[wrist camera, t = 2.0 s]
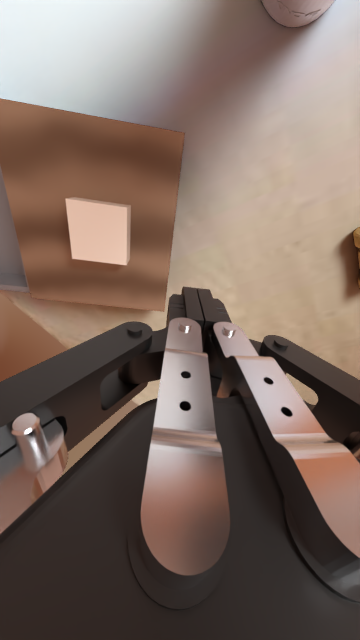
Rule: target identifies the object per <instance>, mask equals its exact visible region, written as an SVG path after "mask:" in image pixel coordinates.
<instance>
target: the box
mask: <svg viewBox="0 0 360 640" xmlns="http://www.w3.org/2000/svg"><path fill="white" fill-rule="evenodd" d="M0 290H9V291H19V292H29V293H30V290H29V286H28V281H27V277H26V273H25V269H24V264H23V260H22V256H21V252H20V247H19V243H18V239H17V235H16V230H15V226H14V222H13V217H12V213H11V209H10V205H9V200H8V196H7V192H6V188H5V183H4V179H3V175H2V170H1V166H0Z"/></svg>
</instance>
